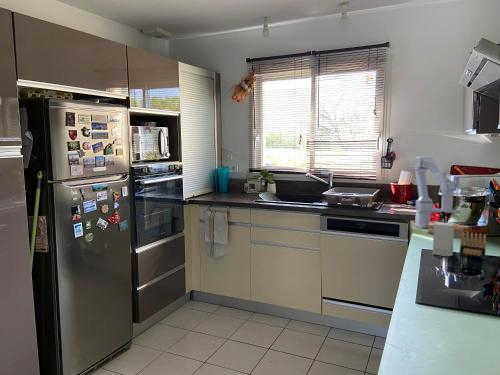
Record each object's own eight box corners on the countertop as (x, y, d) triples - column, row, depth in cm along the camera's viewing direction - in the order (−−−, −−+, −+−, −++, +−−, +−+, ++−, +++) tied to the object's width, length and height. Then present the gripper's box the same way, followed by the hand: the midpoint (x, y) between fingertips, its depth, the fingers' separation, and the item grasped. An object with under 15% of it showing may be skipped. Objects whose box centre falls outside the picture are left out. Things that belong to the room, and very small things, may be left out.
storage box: (428, 229, 244) (428, 222, 243) (461, 232, 236) (461, 225, 236) (427, 233, 233) (428, 226, 233) (462, 236, 226) (462, 230, 225)
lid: (428, 222, 244) (428, 220, 244) (461, 225, 236) (461, 223, 236) (428, 226, 232) (428, 225, 232) (462, 230, 224) (463, 228, 224)
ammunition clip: (485, 258, 186) (487, 233, 185) (484, 259, 185) (487, 234, 183) (459, 254, 192) (461, 230, 190) (459, 255, 190) (461, 231, 189)
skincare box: (452, 255, 191) (455, 223, 188) (450, 258, 185) (453, 226, 183) (433, 252, 195) (436, 221, 193) (431, 255, 190) (433, 223, 188)
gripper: (433, 202, 230) (431, 225, 232) (461, 204, 224) (459, 227, 225) (433, 200, 236) (431, 223, 238) (460, 202, 230) (459, 225, 232)
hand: (445, 225), depth 232 cm, fingers closed, pressing on lid
